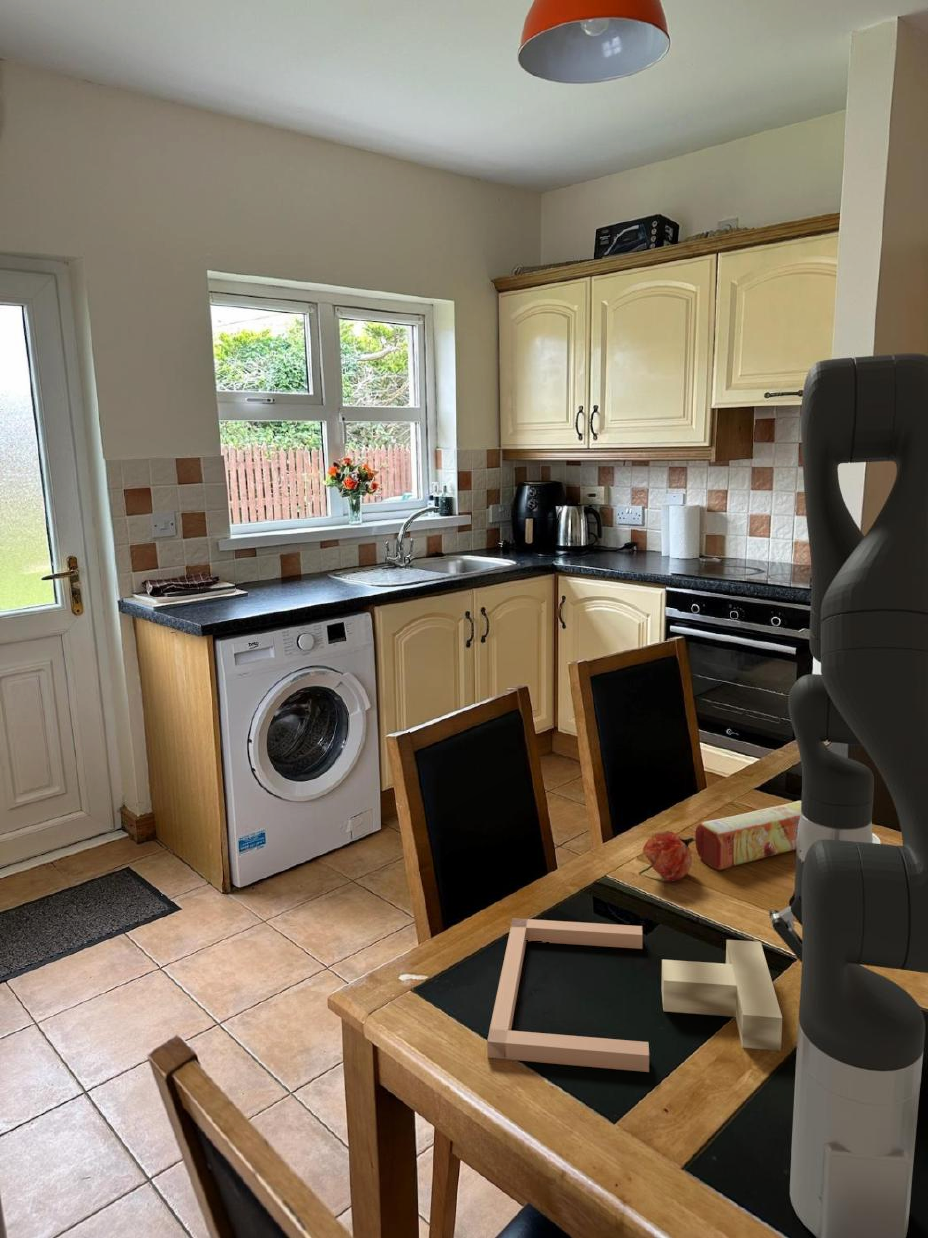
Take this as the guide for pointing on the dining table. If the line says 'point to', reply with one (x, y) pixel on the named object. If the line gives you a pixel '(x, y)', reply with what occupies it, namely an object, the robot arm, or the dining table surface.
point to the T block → (728, 992)
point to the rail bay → (554, 1045)
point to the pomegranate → (668, 855)
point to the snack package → (748, 835)
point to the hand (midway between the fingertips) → (824, 993)
